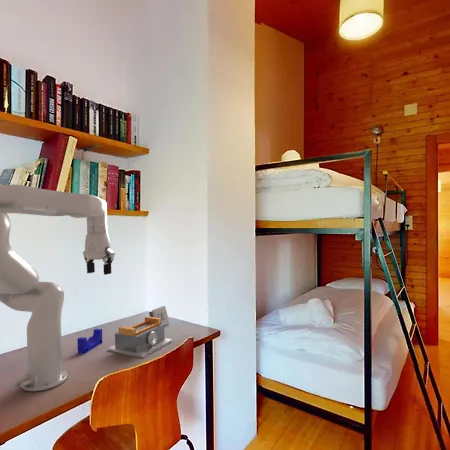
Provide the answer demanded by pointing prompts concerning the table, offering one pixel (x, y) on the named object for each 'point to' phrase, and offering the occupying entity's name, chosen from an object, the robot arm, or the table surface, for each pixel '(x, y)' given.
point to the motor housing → (140, 338)
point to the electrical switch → (160, 314)
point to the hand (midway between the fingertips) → (99, 273)
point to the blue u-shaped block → (89, 342)
